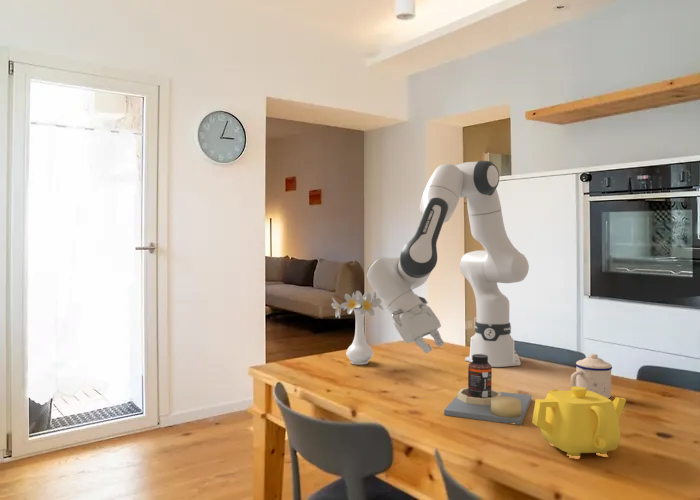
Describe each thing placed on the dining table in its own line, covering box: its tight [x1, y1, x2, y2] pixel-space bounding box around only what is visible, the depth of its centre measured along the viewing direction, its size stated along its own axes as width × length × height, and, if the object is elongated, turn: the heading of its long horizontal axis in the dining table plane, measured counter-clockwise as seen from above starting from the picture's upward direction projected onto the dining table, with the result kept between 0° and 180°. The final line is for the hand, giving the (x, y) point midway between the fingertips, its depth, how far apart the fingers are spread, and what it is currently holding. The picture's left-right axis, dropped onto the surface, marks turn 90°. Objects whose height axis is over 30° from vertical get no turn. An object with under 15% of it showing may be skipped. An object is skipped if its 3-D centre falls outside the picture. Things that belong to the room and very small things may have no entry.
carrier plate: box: [443, 387, 532, 426], centre depth 138 cm, size 22×18×4 cm
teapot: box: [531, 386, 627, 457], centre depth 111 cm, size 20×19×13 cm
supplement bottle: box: [467, 354, 493, 398], centre depth 141 cm, size 6×6×11 cm
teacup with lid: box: [570, 353, 613, 399], centre depth 147 cm, size 12×9×12 cm
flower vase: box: [330, 290, 384, 366], centre depth 187 cm, size 13×18×25 cm
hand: (435, 348), depth 149 cm, fingers open, 8 cm apart
